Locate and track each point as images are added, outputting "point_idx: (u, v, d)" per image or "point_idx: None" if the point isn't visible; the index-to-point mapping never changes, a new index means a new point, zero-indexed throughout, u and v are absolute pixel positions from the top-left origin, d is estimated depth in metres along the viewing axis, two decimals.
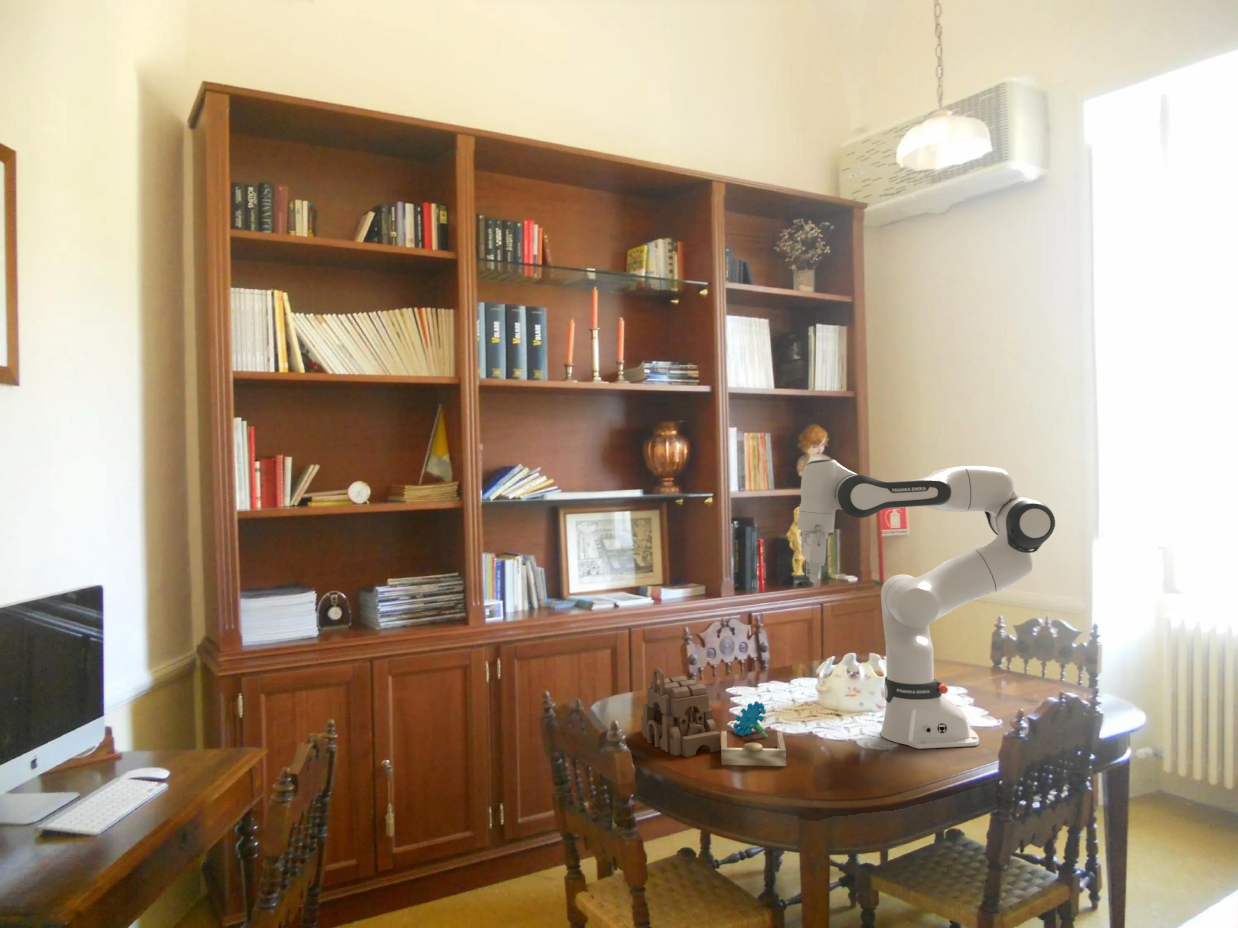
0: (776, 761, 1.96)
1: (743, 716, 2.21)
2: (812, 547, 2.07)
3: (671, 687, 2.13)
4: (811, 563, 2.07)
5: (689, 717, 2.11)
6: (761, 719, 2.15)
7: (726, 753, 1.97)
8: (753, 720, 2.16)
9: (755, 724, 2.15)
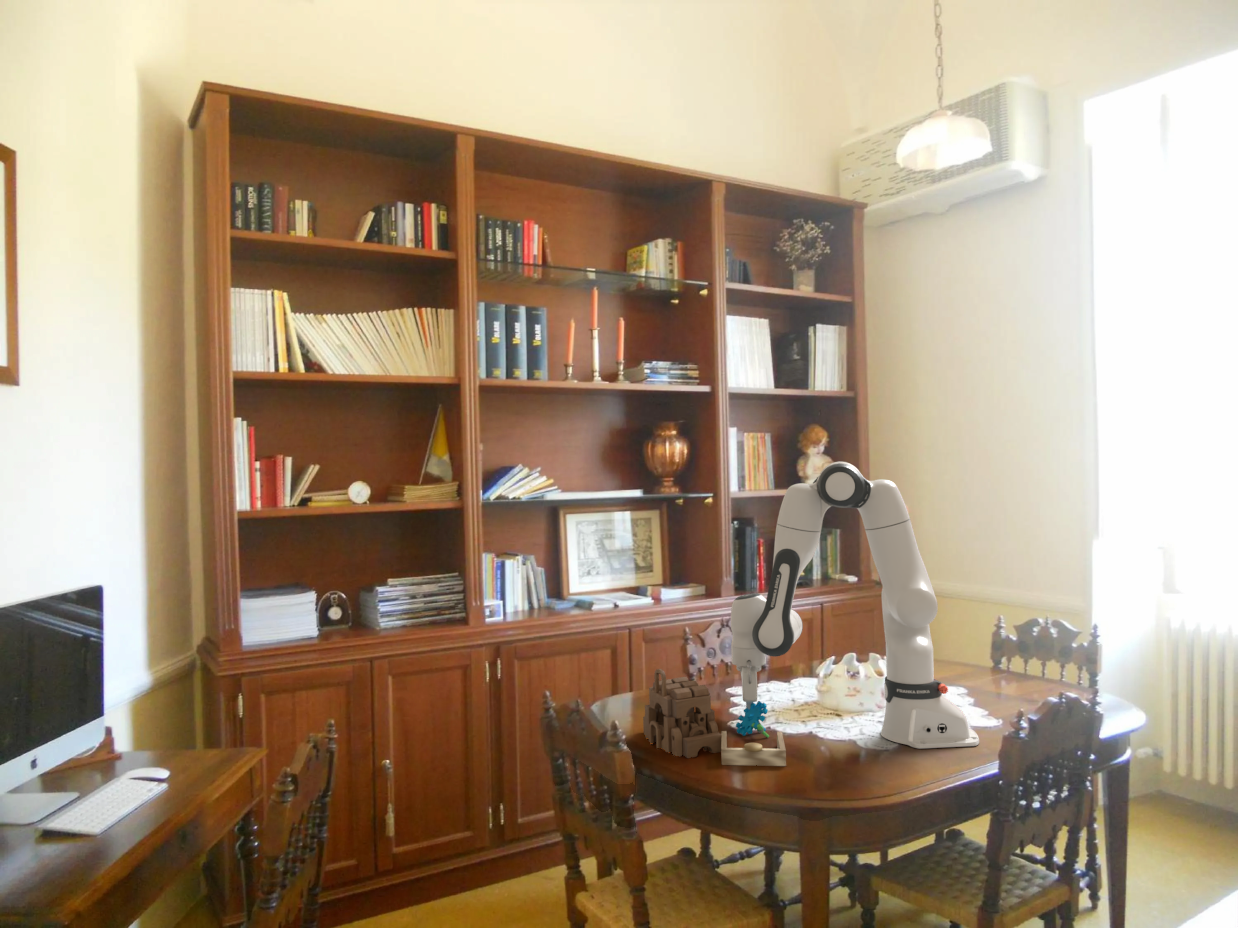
0: (776, 761, 1.96)
1: (745, 715, 2.21)
2: (744, 685, 2.16)
3: (673, 688, 2.12)
4: (744, 700, 2.16)
5: (691, 718, 2.11)
6: (762, 719, 2.15)
7: (726, 753, 1.97)
8: (754, 720, 2.16)
9: (756, 724, 2.15)
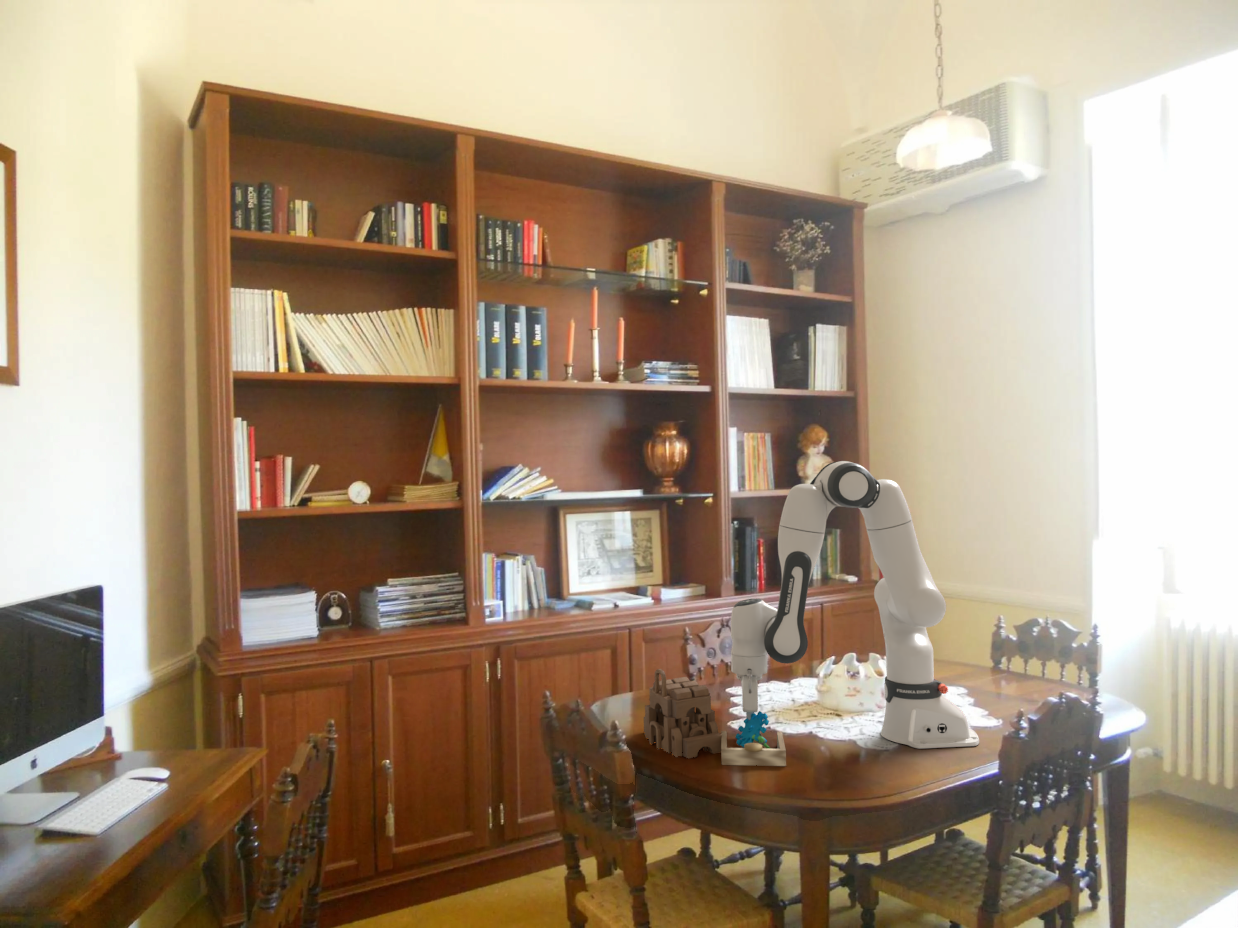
0: (776, 761, 1.96)
1: (745, 726, 2.12)
2: (744, 695, 2.07)
3: (673, 688, 2.12)
4: (744, 711, 2.07)
5: (691, 718, 2.10)
6: (763, 730, 2.06)
7: (726, 753, 1.97)
8: (755, 731, 2.07)
9: (757, 735, 2.06)
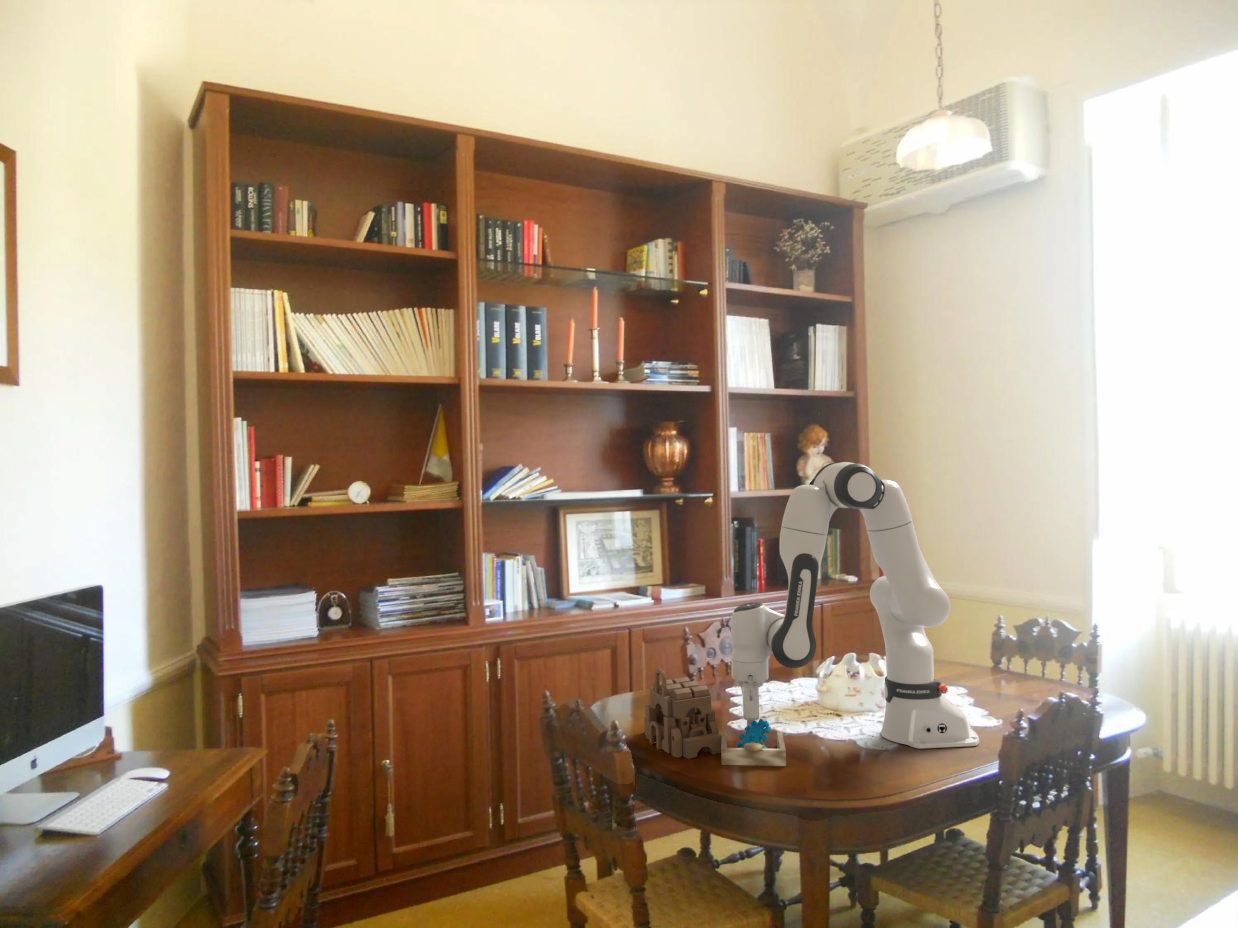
0: (776, 761, 1.96)
1: (746, 734, 2.06)
2: (745, 702, 2.01)
3: (673, 688, 2.11)
4: (745, 718, 2.01)
5: (691, 719, 2.10)
6: (765, 739, 2.00)
7: (726, 753, 1.97)
8: (756, 739, 2.02)
9: None
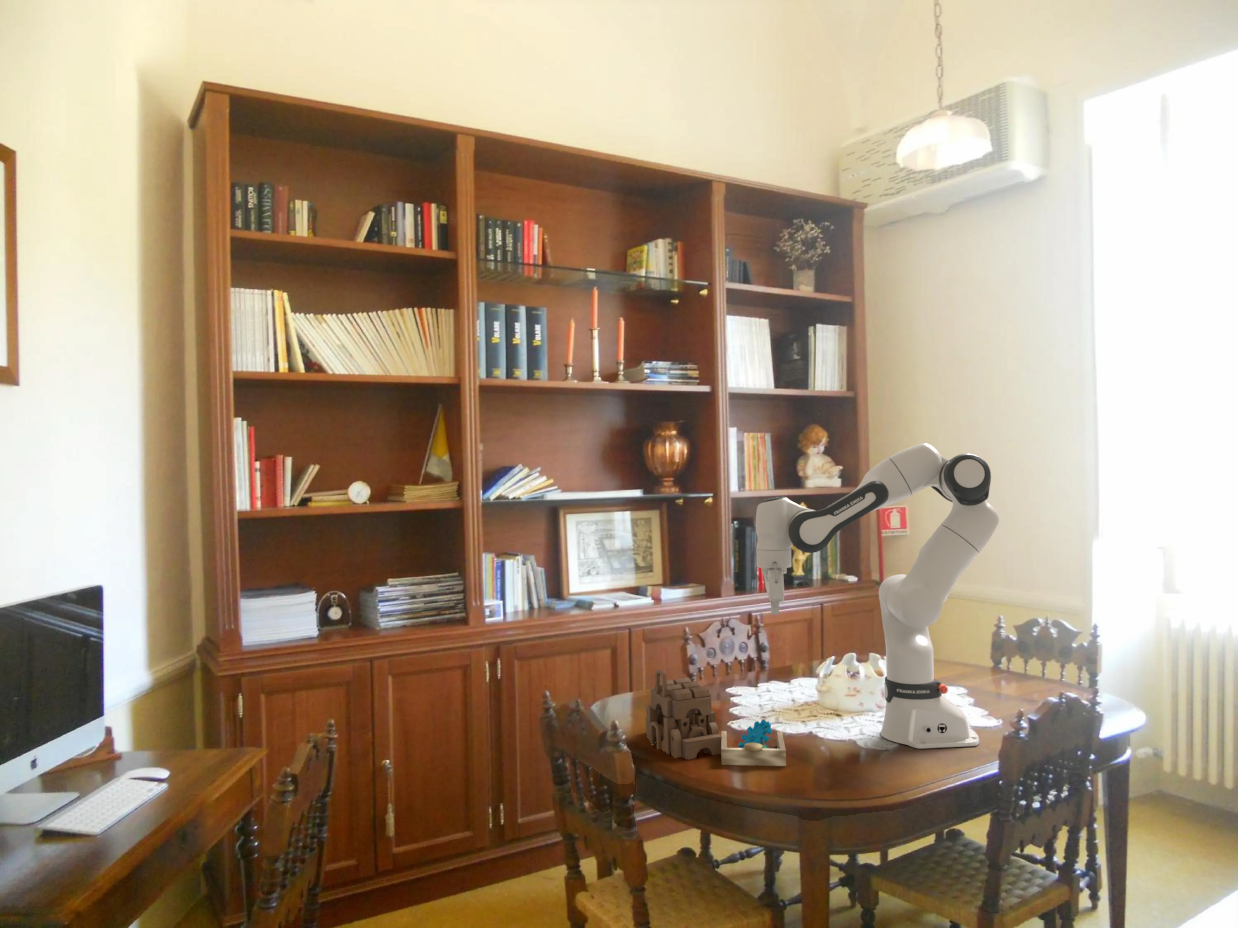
0: (776, 761, 1.96)
1: (748, 735, 2.06)
2: (770, 585, 2.14)
3: (674, 689, 2.11)
4: (771, 600, 2.14)
5: (691, 719, 2.10)
6: (766, 739, 2.00)
7: (726, 753, 1.97)
8: (758, 740, 2.02)
9: None
